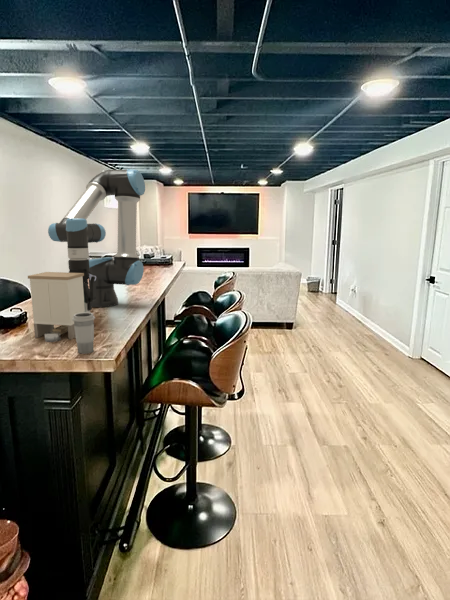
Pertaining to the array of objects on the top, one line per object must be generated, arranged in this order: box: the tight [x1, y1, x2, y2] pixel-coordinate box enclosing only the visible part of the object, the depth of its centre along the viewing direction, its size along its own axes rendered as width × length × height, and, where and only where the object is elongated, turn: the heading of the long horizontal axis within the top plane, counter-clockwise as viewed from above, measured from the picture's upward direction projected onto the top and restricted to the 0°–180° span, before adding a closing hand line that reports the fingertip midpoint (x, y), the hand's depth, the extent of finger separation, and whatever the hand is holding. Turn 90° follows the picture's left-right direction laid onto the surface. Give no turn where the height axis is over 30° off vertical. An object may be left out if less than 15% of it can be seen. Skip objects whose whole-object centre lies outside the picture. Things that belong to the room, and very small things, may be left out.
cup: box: [72, 312, 96, 355], centre depth 122 cm, size 7×7×12 cm
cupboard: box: [27, 271, 85, 340], centre depth 139 cm, size 11×15×22 cm
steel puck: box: [43, 331, 62, 343], centre depth 135 cm, size 5×5×2 cm
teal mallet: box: [53, 291, 86, 336], centre depth 146 cm, size 20×4×12 cm, turn 172°
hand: (82, 317), depth 154 cm, fingers closed on teal mallet, 4 cm apart
